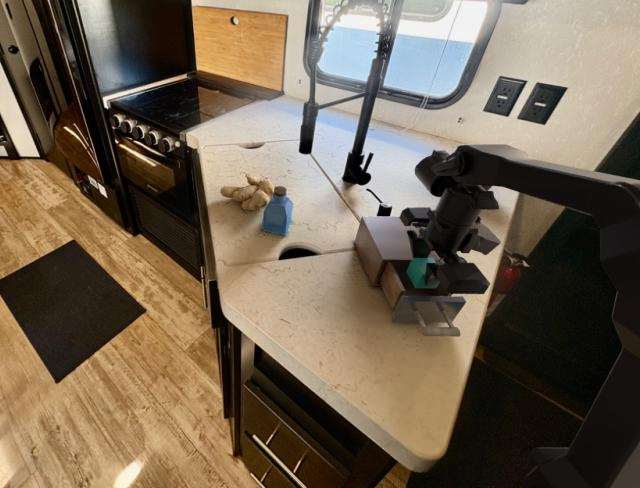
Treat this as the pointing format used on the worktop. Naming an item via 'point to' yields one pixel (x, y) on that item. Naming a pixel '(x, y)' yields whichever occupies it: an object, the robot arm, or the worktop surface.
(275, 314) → the worktop surface
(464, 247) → the robot arm
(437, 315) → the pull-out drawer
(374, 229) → the drawer cabinet
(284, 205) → the perfume bottle
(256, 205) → the ginger root
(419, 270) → the teal block
